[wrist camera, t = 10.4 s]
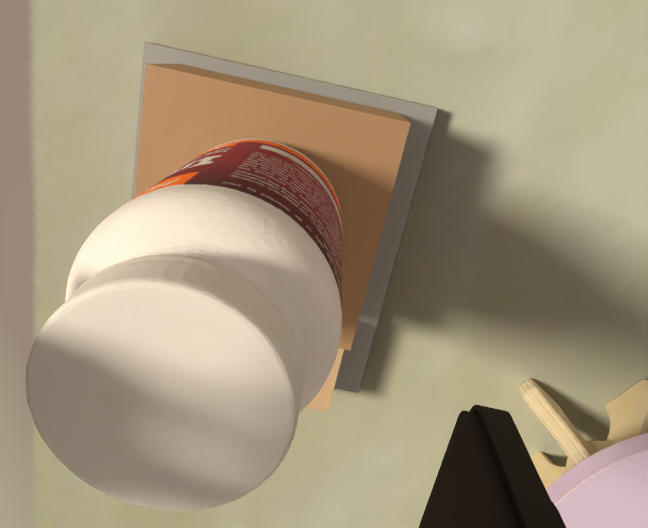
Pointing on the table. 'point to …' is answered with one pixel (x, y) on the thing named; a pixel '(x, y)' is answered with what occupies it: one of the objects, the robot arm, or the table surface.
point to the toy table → (597, 462)
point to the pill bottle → (195, 330)
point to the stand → (312, 141)
